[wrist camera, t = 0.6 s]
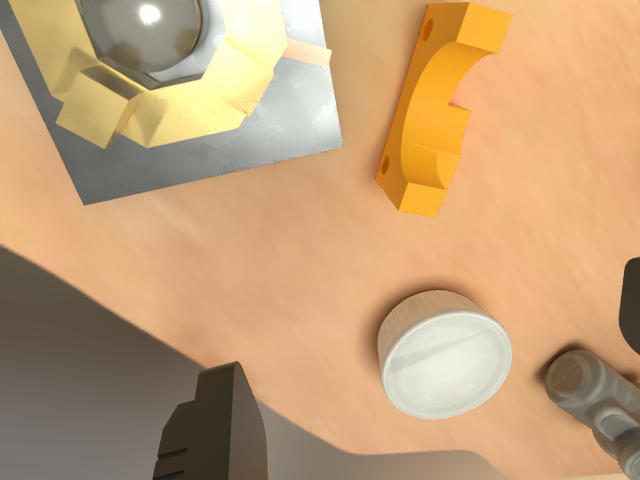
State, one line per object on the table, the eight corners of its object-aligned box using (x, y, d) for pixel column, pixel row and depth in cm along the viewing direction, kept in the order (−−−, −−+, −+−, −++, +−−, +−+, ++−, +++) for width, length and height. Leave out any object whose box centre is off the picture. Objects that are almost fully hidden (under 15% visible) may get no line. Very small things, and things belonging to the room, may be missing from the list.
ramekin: (420, 256, 38) (444, 290, 33) (509, 311, 42) (542, 348, 37) (342, 349, 41) (354, 392, 36) (432, 391, 45) (452, 435, 40)
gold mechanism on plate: (-77, -167, 23) (-215, -242, 16) (279, -237, 23) (290, -338, 17) (90, 197, 32) (48, 246, 25) (343, 140, 32) (366, 173, 26)
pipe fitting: (653, 378, 48) (732, 464, 38) (589, 421, 50) (648, 510, 41) (583, 319, 44) (650, 397, 35) (519, 367, 47) (565, 452, 38)
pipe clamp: (426, 188, 35) (460, 222, 29) (374, 178, 34) (398, 211, 28) (486, 22, 30) (540, 24, 25) (427, 4, 29) (469, 2, 24)
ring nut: (-10, -100, 23) (-105, -141, 17) (244, -151, 23) (241, -210, 17) (97, 148, 29) (56, 184, 23) (297, 104, 29) (309, 128, 23)
